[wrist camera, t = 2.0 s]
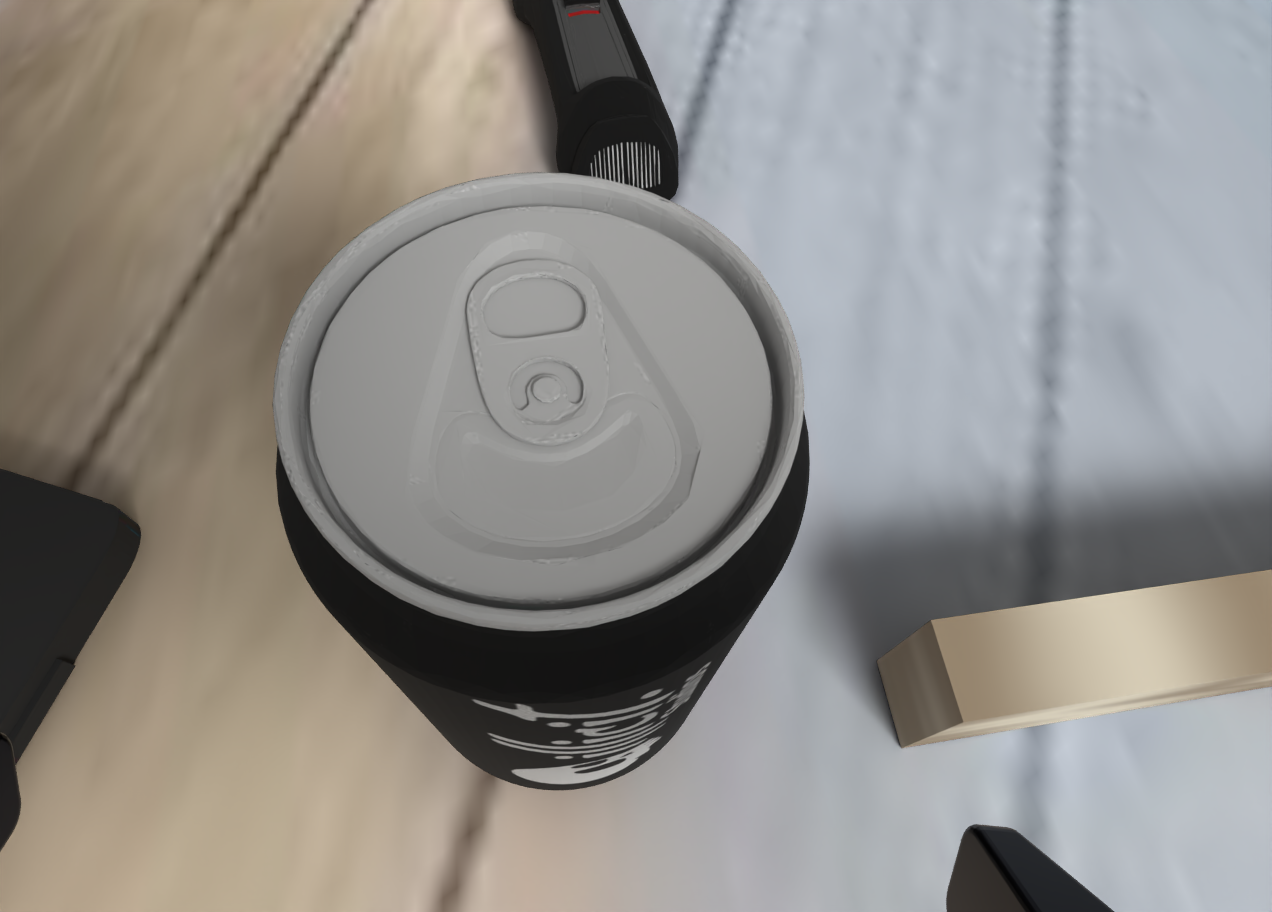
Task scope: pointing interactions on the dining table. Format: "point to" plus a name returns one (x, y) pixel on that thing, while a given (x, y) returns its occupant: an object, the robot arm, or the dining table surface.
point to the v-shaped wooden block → (1080, 658)
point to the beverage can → (542, 463)
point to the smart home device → (51, 590)
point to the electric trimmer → (603, 95)
